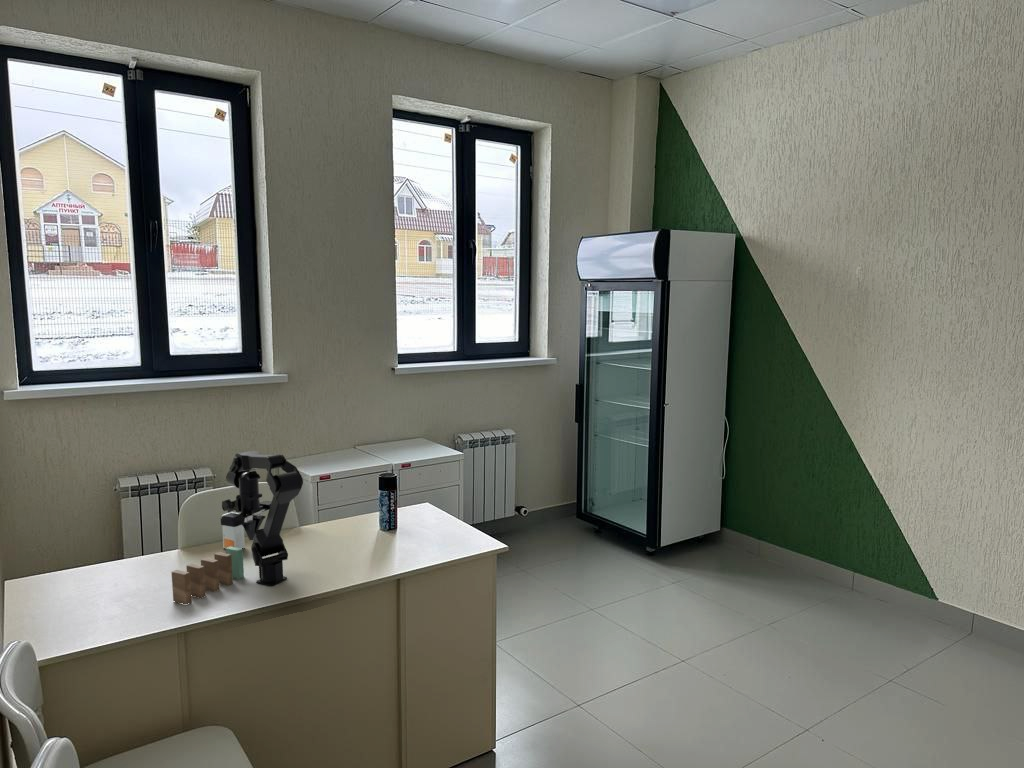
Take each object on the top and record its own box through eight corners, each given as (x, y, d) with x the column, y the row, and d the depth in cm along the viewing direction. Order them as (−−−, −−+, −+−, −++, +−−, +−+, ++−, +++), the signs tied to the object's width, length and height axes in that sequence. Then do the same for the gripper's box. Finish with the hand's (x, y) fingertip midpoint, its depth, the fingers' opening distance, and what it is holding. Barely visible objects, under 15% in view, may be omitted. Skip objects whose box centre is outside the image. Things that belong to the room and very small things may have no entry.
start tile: (231, 574, 218) (230, 546, 217) (243, 576, 216) (242, 548, 215) (227, 576, 217) (225, 548, 215) (239, 579, 214) (237, 550, 213)
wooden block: (220, 580, 213) (219, 552, 212) (232, 583, 211) (231, 554, 210) (215, 582, 212) (214, 554, 211) (228, 585, 210) (226, 556, 209)
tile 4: (193, 593, 204) (191, 563, 203) (205, 596, 202) (204, 566, 201) (188, 595, 203) (186, 565, 202) (200, 598, 201) (199, 568, 200)
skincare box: (222, 548, 240) (220, 514, 239) (233, 544, 244) (231, 511, 242) (235, 551, 237) (233, 517, 236) (245, 547, 241) (243, 514, 239)
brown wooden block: (178, 599, 200) (176, 569, 199) (191, 603, 198) (189, 572, 197) (173, 602, 198) (171, 571, 197) (186, 605, 196) (184, 574, 195)
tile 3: (207, 586, 209) (205, 557, 208) (219, 589, 207) (218, 560, 206) (202, 589, 207) (200, 559, 206) (214, 591, 205) (213, 562, 204)
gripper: (252, 481, 230) (254, 527, 232) (206, 496, 214) (209, 545, 215) (278, 485, 226) (280, 532, 228) (233, 500, 209) (236, 551, 211)
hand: (251, 539), depth 221 cm, fingers closed
